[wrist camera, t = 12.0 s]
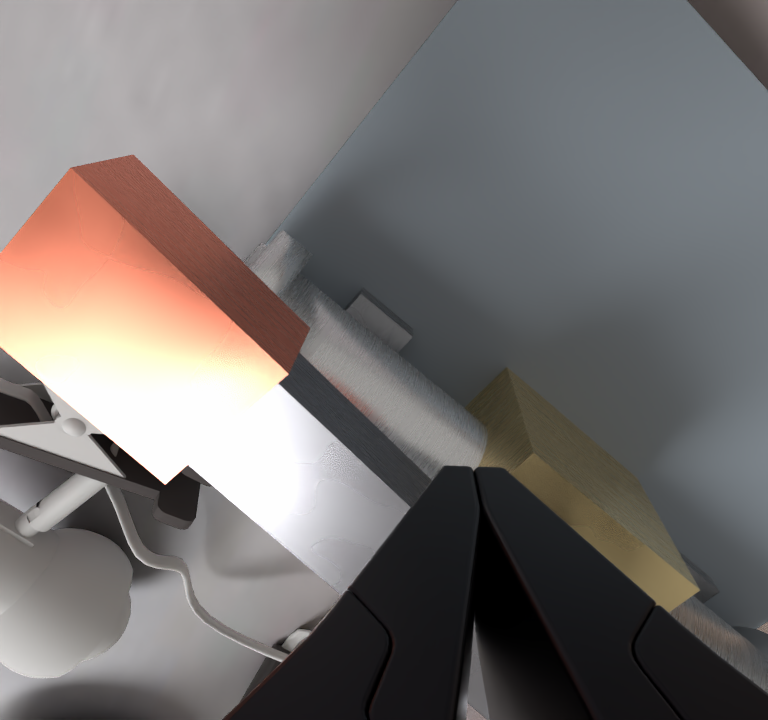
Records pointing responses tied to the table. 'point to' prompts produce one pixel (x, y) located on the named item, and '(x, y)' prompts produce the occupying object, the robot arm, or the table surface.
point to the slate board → (580, 245)
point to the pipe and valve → (502, 446)
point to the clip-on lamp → (83, 543)
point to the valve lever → (199, 369)
